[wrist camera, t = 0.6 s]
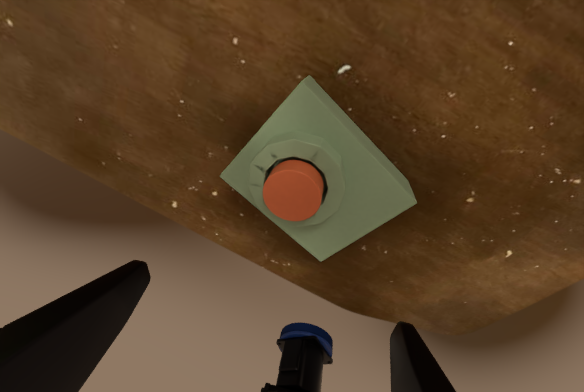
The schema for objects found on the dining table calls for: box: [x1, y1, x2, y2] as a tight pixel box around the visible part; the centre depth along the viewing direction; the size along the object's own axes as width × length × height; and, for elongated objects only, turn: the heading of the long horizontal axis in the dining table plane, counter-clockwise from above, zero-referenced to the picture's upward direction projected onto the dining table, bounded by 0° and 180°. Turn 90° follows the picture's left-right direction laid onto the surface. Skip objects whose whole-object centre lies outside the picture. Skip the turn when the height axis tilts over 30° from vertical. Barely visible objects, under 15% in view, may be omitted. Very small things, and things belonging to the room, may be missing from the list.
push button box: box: [220, 75, 417, 262], centre depth 21 cm, size 12×10×6 cm
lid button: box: [263, 160, 324, 221], centre depth 18 cm, size 4×4×2 cm
